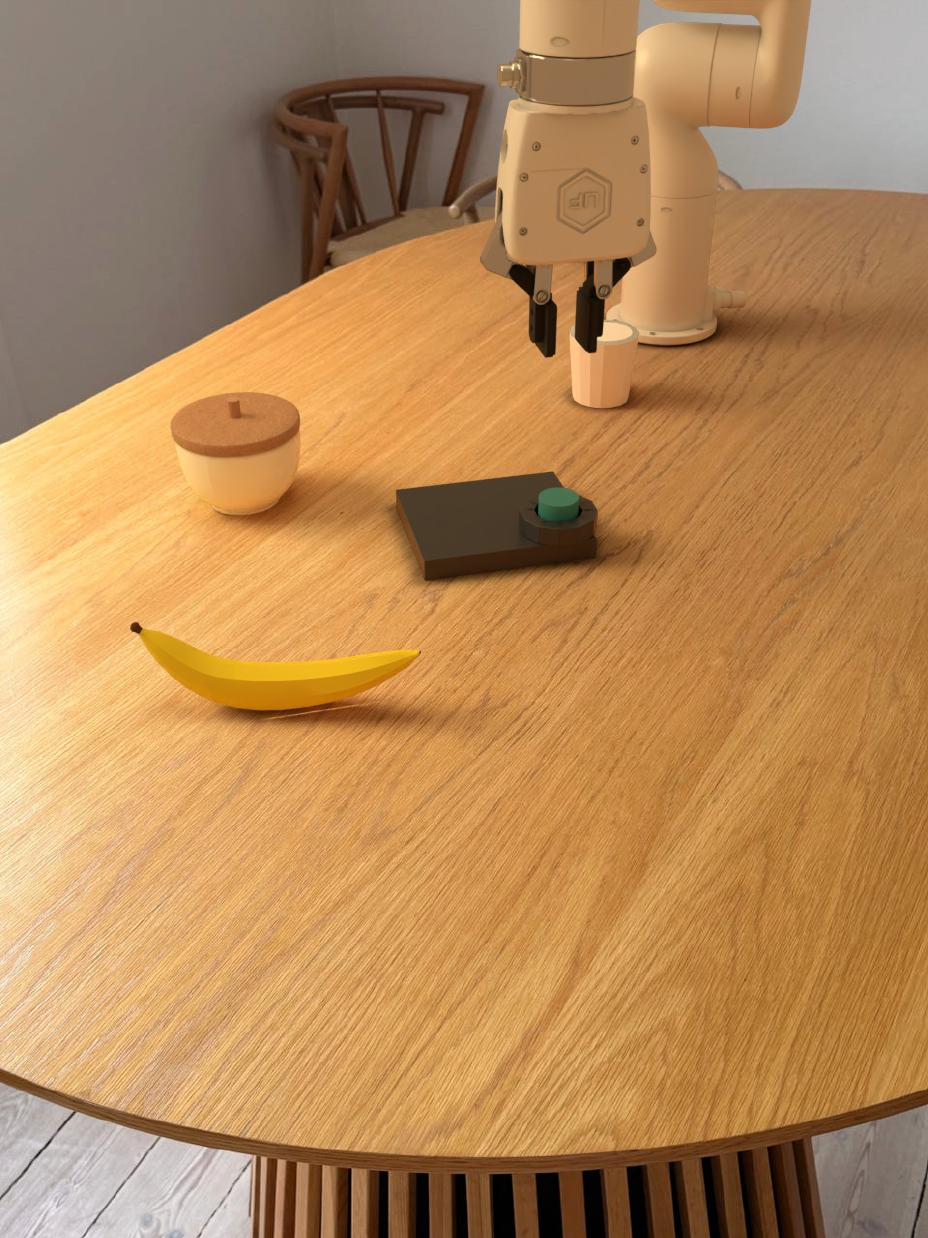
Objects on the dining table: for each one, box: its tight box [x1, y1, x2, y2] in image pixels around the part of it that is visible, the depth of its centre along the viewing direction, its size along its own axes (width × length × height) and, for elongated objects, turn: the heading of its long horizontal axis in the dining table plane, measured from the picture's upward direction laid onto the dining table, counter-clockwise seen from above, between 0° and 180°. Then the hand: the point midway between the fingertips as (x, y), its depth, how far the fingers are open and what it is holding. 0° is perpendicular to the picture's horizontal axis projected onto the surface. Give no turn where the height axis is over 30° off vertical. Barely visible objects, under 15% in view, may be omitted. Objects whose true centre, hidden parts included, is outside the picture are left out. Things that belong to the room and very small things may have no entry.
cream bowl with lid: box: [170, 391, 301, 516], centre depth 103 cm, size 11×11×9 cm
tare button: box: [538, 487, 580, 522], centre depth 97 cm, size 3×3×2 cm
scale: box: [395, 470, 599, 582], centre depth 100 cm, size 15×12×4 cm
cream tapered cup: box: [569, 319, 639, 409], centre depth 121 cm, size 7×7×7 cm
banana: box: [129, 621, 422, 711], centre depth 80 cm, size 3×19×6 cm, turn 86°
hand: (565, 346), depth 89 cm, fingers closed
